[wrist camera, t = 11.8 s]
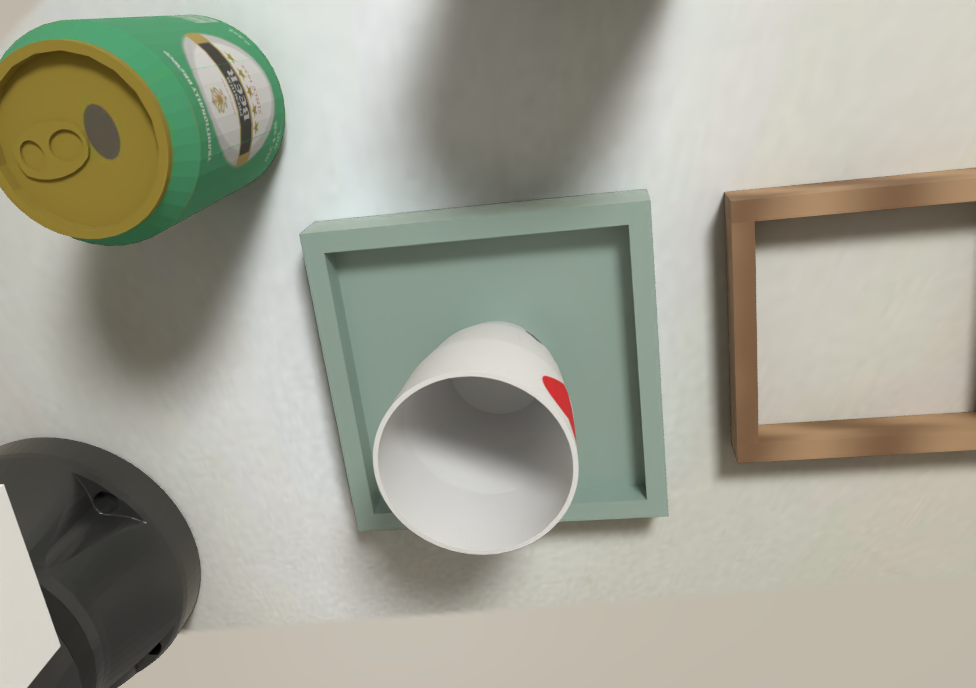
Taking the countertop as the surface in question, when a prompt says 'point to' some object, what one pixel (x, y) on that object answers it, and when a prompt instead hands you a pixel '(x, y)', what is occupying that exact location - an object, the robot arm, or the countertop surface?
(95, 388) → the countertop surface
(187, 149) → the beverage can
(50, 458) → the robot arm
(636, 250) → the tray
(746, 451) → the frame
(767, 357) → the countertop surface
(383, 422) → the cup
